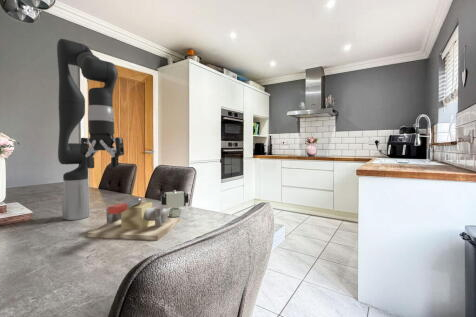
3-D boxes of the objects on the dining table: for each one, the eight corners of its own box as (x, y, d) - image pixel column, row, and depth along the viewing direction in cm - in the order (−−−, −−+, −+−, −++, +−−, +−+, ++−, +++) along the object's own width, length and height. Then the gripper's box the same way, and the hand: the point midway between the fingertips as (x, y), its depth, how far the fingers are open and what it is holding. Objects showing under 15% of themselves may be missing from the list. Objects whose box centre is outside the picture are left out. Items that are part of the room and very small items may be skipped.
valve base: (87, 236, 83) (86, 208, 82) (122, 219, 102) (121, 196, 102) (158, 240, 79) (157, 210, 79) (180, 221, 99) (179, 198, 99)
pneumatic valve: (188, 216, 107) (188, 190, 107) (161, 219, 103) (161, 191, 102) (187, 213, 112) (186, 188, 112) (161, 215, 108) (160, 189, 108)
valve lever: (135, 202, 91) (135, 196, 91) (143, 202, 91) (143, 197, 90) (108, 213, 76) (108, 206, 76) (117, 213, 75) (117, 207, 75)
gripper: (73, 119, 77) (74, 169, 77) (113, 118, 75) (115, 169, 76) (90, 122, 84) (91, 167, 85) (127, 121, 82) (128, 167, 83)
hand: (102, 168), depth 80 cm, fingers open, 8 cm apart
